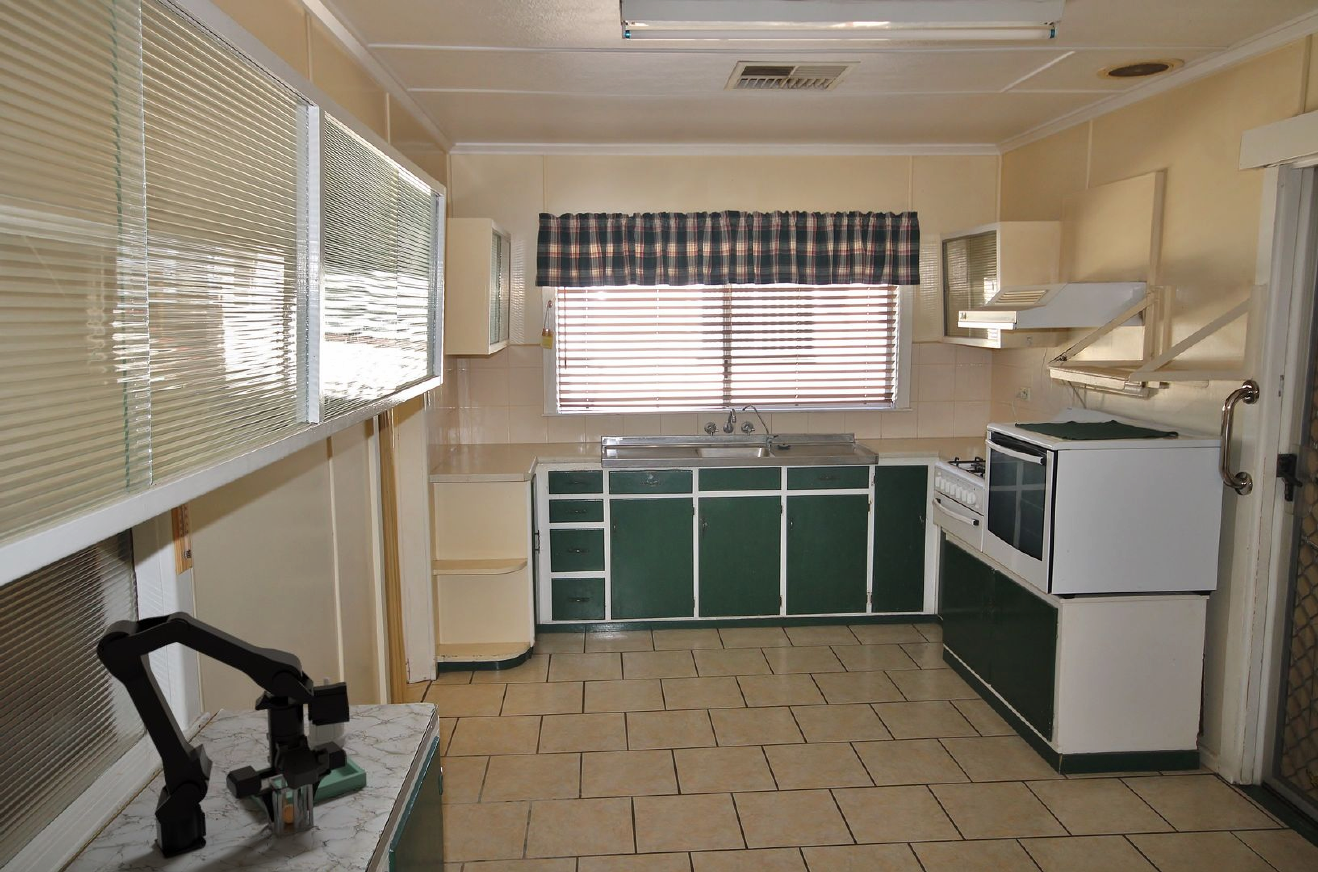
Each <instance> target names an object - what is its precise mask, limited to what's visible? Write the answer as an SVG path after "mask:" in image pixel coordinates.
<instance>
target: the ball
mask: <svg viewBox="0 0 1318 872" xmlns="http://www.w3.org/2000/svg"><path fill="white" fill-rule="evenodd" d="M299 813H300V812H299V808H298V817H299ZM282 817H283V821H284V822H286V823H292V822H294V821H293V804H290V805H287V806H285V807H284V808H283V810H282Z"/></svg>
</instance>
